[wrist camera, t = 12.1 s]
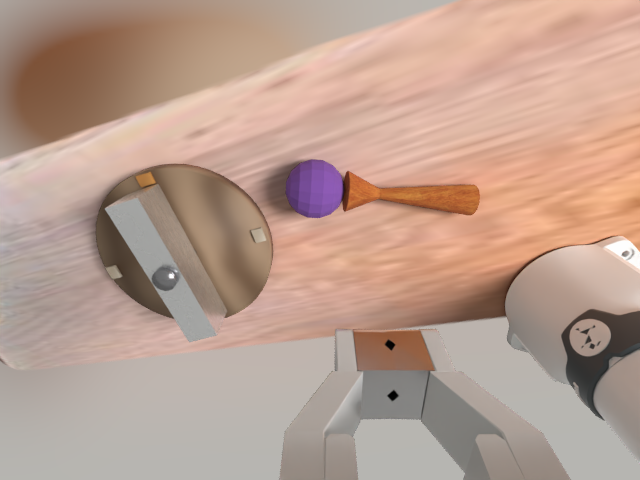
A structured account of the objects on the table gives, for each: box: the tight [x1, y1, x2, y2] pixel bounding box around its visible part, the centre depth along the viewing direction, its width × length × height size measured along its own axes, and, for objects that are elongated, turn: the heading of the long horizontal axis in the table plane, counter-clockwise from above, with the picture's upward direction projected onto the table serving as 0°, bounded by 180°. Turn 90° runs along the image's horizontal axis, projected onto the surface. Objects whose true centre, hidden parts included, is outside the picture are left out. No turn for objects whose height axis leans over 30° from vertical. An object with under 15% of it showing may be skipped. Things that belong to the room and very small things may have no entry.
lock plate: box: [96, 164, 273, 318], centre depth 41 cm, size 20×20×3 cm
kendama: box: [286, 159, 480, 218], centre depth 36 cm, size 6×6×20 cm
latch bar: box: [105, 184, 227, 342], centre depth 37 cm, size 17×4×5 cm, turn 18°
